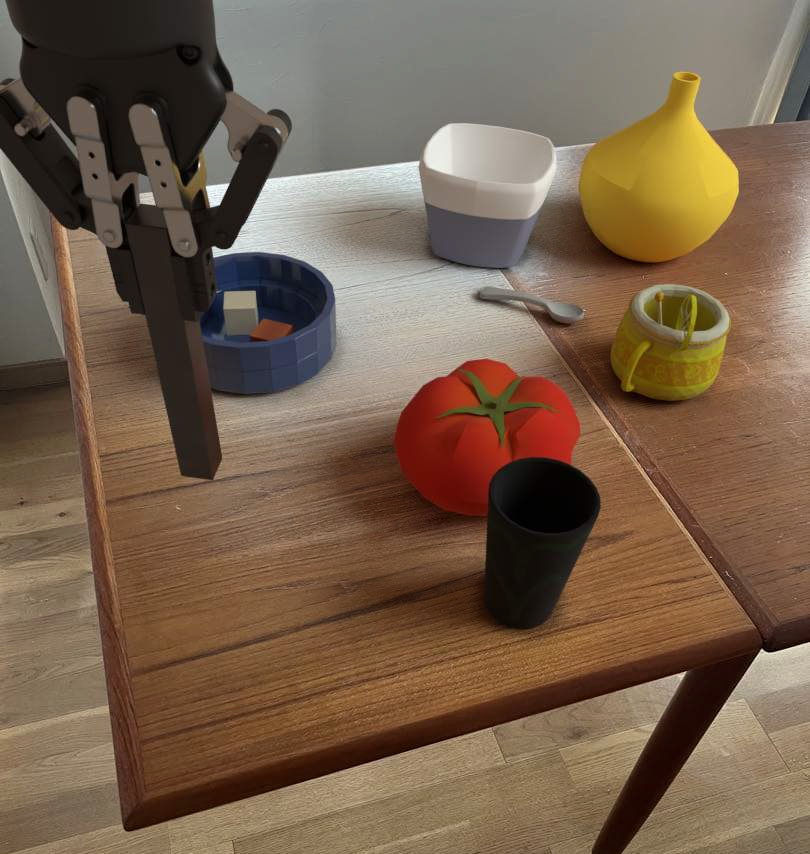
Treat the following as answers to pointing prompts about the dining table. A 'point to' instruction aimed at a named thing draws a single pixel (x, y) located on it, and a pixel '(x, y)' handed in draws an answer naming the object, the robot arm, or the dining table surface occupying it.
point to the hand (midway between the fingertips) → (171, 308)
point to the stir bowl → (278, 301)
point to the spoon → (556, 310)
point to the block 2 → (270, 331)
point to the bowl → (484, 191)
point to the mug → (670, 342)
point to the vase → (659, 182)
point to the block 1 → (240, 312)
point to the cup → (534, 537)
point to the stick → (175, 347)
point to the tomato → (480, 431)
